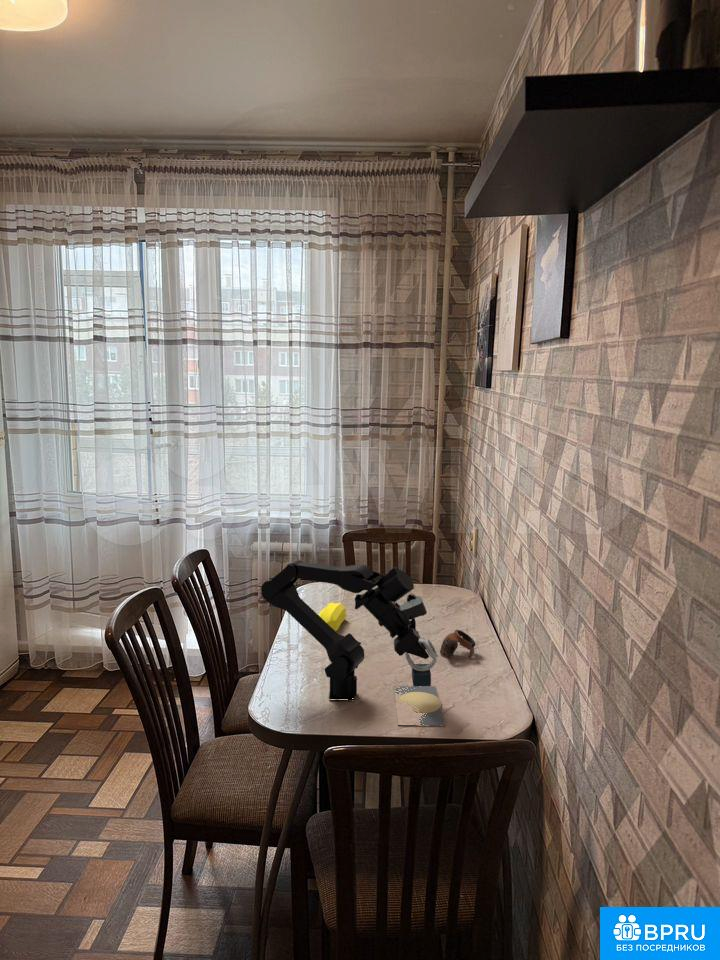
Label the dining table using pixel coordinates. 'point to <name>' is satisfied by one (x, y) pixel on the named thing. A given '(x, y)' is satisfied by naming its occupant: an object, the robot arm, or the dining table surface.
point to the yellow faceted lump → (333, 615)
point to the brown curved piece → (451, 643)
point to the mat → (424, 703)
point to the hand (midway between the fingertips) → (426, 653)
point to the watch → (423, 665)
